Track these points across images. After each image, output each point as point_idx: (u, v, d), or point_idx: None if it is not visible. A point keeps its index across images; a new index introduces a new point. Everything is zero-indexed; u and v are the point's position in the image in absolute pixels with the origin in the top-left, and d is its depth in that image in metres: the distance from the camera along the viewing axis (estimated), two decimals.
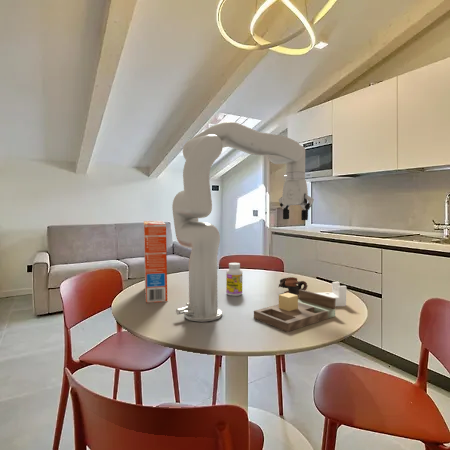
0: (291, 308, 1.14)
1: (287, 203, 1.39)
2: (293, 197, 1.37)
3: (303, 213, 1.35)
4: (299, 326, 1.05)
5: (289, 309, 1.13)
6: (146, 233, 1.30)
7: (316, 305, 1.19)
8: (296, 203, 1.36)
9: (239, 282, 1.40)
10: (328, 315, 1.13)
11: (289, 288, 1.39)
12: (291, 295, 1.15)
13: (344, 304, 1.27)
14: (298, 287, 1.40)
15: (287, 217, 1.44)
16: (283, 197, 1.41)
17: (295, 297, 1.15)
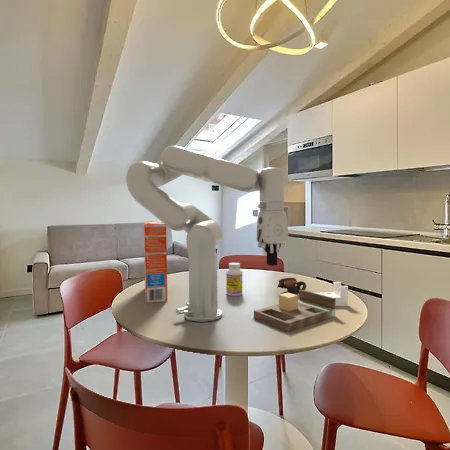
0: (291, 308, 1.14)
1: (274, 241, 1.07)
2: (281, 233, 1.08)
3: None
4: (299, 326, 1.05)
5: (289, 309, 1.13)
6: (146, 233, 1.30)
7: (316, 305, 1.19)
8: (284, 240, 1.09)
9: (239, 282, 1.40)
10: (328, 315, 1.13)
11: (288, 288, 1.38)
12: (291, 295, 1.15)
13: (346, 304, 1.27)
14: (297, 287, 1.39)
15: None
16: (268, 234, 1.05)
17: (295, 297, 1.15)
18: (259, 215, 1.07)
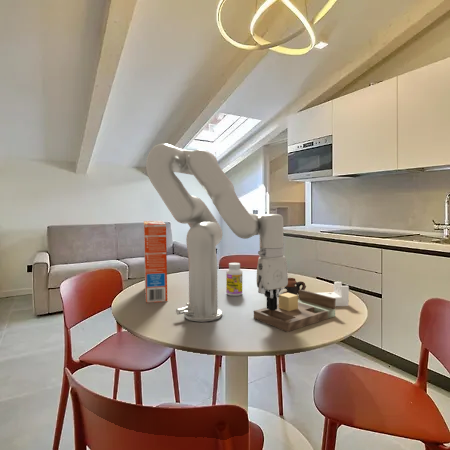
0: (291, 308, 1.14)
1: (274, 287, 1.08)
2: (281, 278, 1.09)
3: None
4: (299, 326, 1.05)
5: (289, 309, 1.13)
6: (146, 233, 1.30)
7: (316, 305, 1.19)
8: (284, 285, 1.10)
9: (239, 282, 1.40)
10: (328, 315, 1.13)
11: (287, 289, 1.38)
12: (291, 295, 1.15)
13: (346, 304, 1.27)
14: (296, 288, 1.39)
15: None
16: (268, 281, 1.06)
17: (295, 297, 1.15)
18: (259, 261, 1.08)
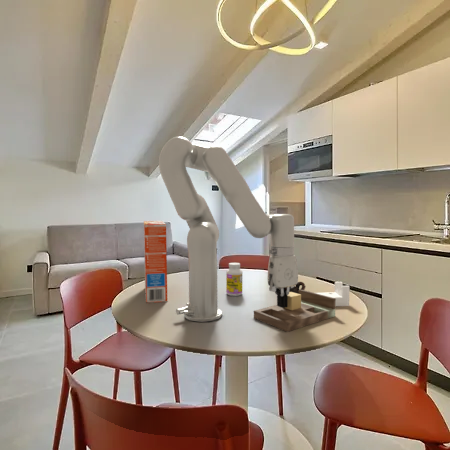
0: (294, 307, 1.15)
1: (285, 285, 1.10)
2: (291, 277, 1.12)
3: None
4: (299, 326, 1.05)
5: (292, 308, 1.14)
6: (146, 233, 1.30)
7: (316, 305, 1.19)
8: (294, 283, 1.13)
9: (239, 282, 1.40)
10: (328, 315, 1.13)
11: None
12: (294, 294, 1.16)
13: (347, 304, 1.27)
14: (296, 288, 1.38)
15: None
16: (279, 279, 1.09)
17: (299, 296, 1.16)
18: (270, 260, 1.11)
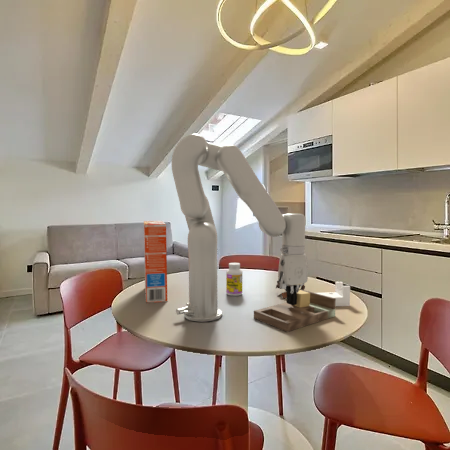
0: (303, 305, 1.17)
1: (295, 283, 1.13)
2: (301, 275, 1.15)
3: None
4: (299, 326, 1.05)
5: (301, 306, 1.17)
6: (146, 233, 1.30)
7: (316, 305, 1.19)
8: (304, 281, 1.16)
9: (239, 282, 1.40)
10: (328, 315, 1.13)
11: None
12: (303, 292, 1.19)
13: (348, 304, 1.27)
14: None
15: None
16: (289, 276, 1.12)
17: (308, 294, 1.18)
18: (281, 258, 1.14)
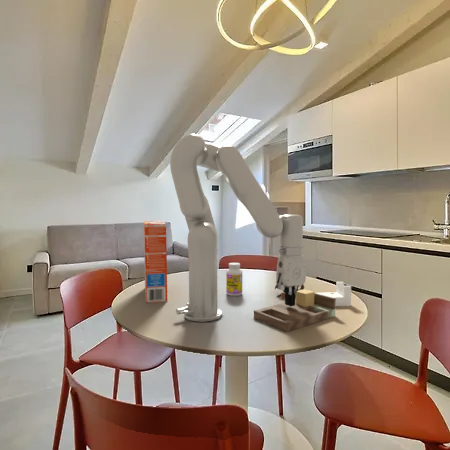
0: (308, 304, 1.18)
1: (293, 284, 1.13)
2: (299, 276, 1.15)
3: None
4: (299, 326, 1.05)
5: (306, 305, 1.18)
6: (146, 233, 1.30)
7: (316, 305, 1.19)
8: (302, 282, 1.16)
9: (239, 282, 1.40)
10: (328, 315, 1.13)
11: None
12: (308, 291, 1.20)
13: (349, 304, 1.27)
14: None
15: None
16: (288, 278, 1.12)
17: (312, 293, 1.19)
18: (279, 259, 1.14)
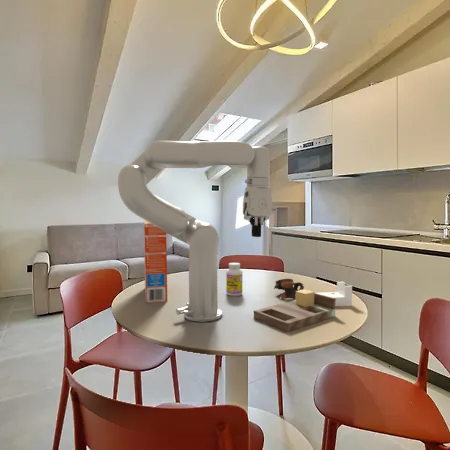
0: (308, 304, 1.18)
1: (258, 214, 1.16)
2: (265, 207, 1.18)
3: None
4: (299, 326, 1.05)
5: (306, 305, 1.18)
6: (146, 233, 1.30)
7: (316, 305, 1.19)
8: (268, 214, 1.19)
9: (239, 282, 1.40)
10: (328, 315, 1.13)
11: (285, 290, 1.36)
12: (308, 291, 1.20)
13: (350, 304, 1.27)
14: (294, 289, 1.37)
15: None
16: (253, 207, 1.15)
17: (312, 293, 1.19)
18: (245, 190, 1.17)
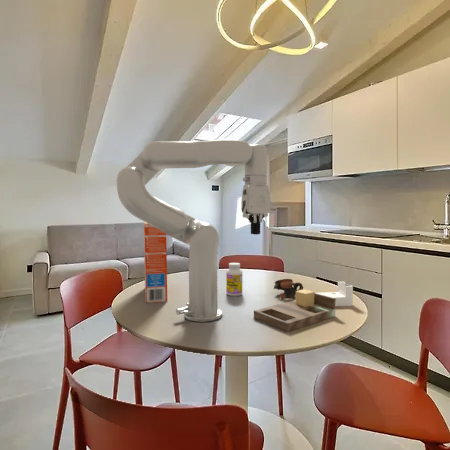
0: (308, 304, 1.18)
1: (257, 211, 1.17)
2: (264, 204, 1.18)
3: None
4: (299, 326, 1.05)
5: (306, 305, 1.18)
6: (146, 233, 1.30)
7: (316, 305, 1.19)
8: (267, 211, 1.19)
9: (239, 282, 1.40)
10: (328, 315, 1.13)
11: (285, 290, 1.36)
12: (308, 291, 1.20)
13: (350, 304, 1.27)
14: (294, 289, 1.37)
15: None
16: (251, 204, 1.15)
17: (312, 293, 1.19)
18: (244, 188, 1.17)
